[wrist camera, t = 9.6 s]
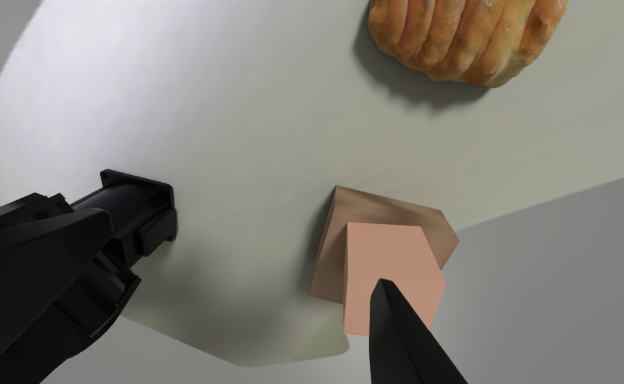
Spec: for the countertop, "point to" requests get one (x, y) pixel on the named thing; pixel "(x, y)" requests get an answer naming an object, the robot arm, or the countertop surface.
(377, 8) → the pastry
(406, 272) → the terracotta cube
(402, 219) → the brown wooden square block
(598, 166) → the countertop surface
